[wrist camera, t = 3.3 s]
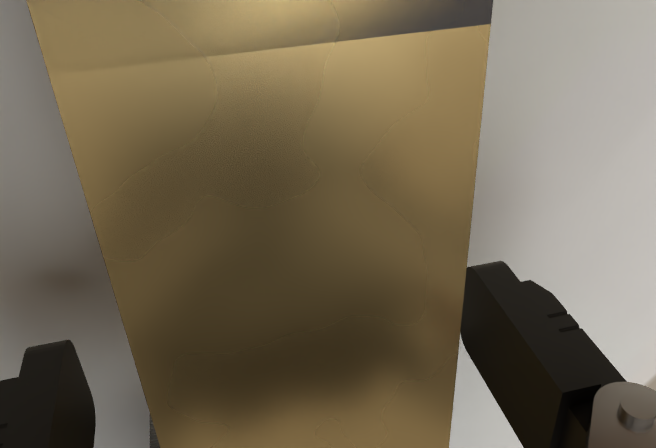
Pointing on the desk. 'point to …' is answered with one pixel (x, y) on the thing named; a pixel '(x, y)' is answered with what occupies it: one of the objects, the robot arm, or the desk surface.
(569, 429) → the robot arm
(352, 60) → the brass bar
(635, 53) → the desk surface
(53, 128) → the desk surface
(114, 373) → the desk surface
